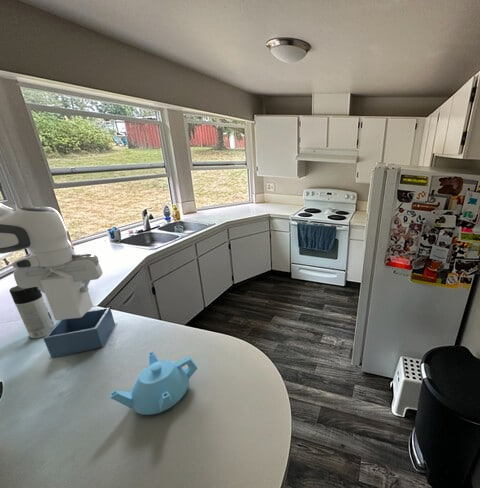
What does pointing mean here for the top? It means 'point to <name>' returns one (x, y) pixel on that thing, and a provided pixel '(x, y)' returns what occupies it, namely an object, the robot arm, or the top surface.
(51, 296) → the milk carton
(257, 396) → the top surface
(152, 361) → the teapot
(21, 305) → the spray can
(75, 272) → the robot arm
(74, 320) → the tub
